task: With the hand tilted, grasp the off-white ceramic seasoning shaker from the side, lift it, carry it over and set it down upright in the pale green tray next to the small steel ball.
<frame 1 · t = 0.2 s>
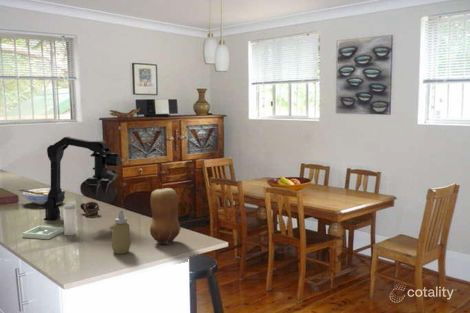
hand: (100, 195, 232), 14 cm above the counter, tool pointing down, fingers open, 9 cm apart
ball: (46, 236, 203), point 1 cm above the counter, touching tray
squeeze bottle: (121, 252, 187), on the counter
ramen bowl: (43, 203, 273), on the counter
shaker: (70, 234, 210), on the counter
pottery mug: (89, 214, 250), on the counter
butternut squash: (165, 243, 200), on the counter
tray: (43, 235, 207), on the counter
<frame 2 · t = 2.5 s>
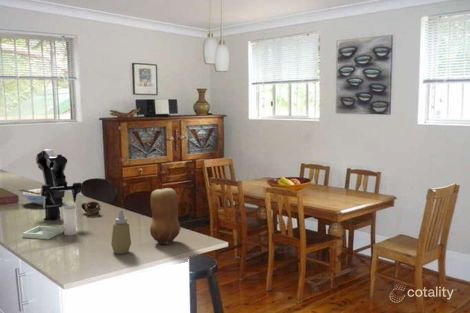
hand: (65, 203, 215), 14 cm above the counter, tool tilted 45°, fingers open, 9 cm apart
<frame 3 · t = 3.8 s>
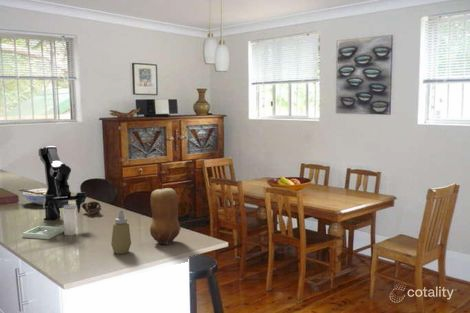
hand: (69, 213, 210), 10 cm above the counter, tool tilted 45°, fingers open, 9 cm apart
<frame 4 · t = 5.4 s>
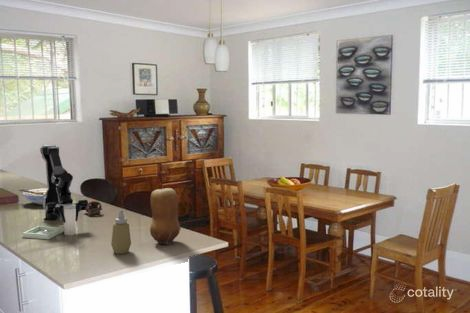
hand: (70, 221, 208), 7 cm above the counter, tool tilted 45°, fingers closed on shaker, 5 cm apart
shaker: (70, 234, 210), on the counter, touching gripper
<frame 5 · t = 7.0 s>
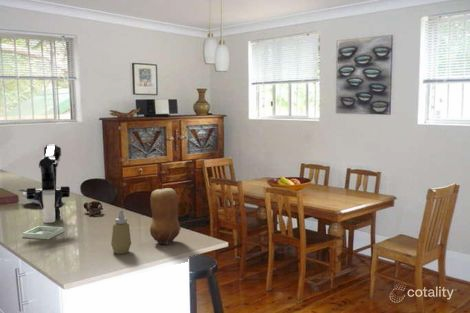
hand: (48, 207, 206), 13 cm above the counter, tool tilted 45°, fingers closed on shaker, 5 cm apart
shaker: (49, 221, 208), point 7 cm above the counter, touching gripper
when the fingers open (8 cm above the counter, at t = 8.9 s): shaker stays where it is, resting on tray.
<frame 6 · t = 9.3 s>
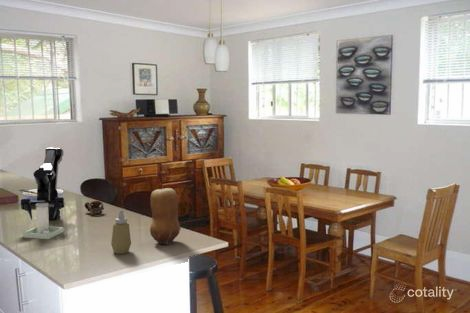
hand: (42, 218, 206), 8 cm above the counter, tool tilted 45°, fingers open, 9 cm apart
shaker: (42, 233, 208), point 1 cm above the counter, touching tray
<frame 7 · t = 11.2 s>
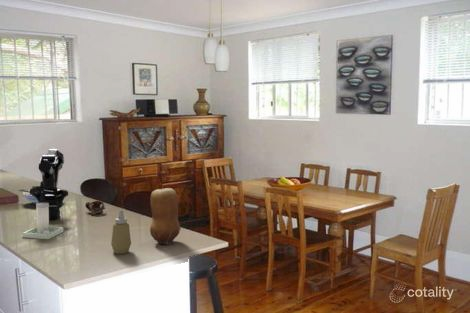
hand: (50, 209, 218), 10 cm above the counter, tool tilted 25°, fingers open, 9 cm apart
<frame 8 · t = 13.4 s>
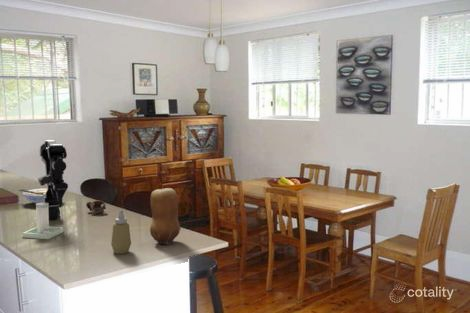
hand: (57, 200, 223), 13 cm above the counter, tool pointing down, fingers open, 9 cm apart
at the end: shaker inside the target area on the tray (1.5 cm from its centre), point 0.6 cm above the tray's base; shaker tilted 1°; the gripper is holding nothing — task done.
